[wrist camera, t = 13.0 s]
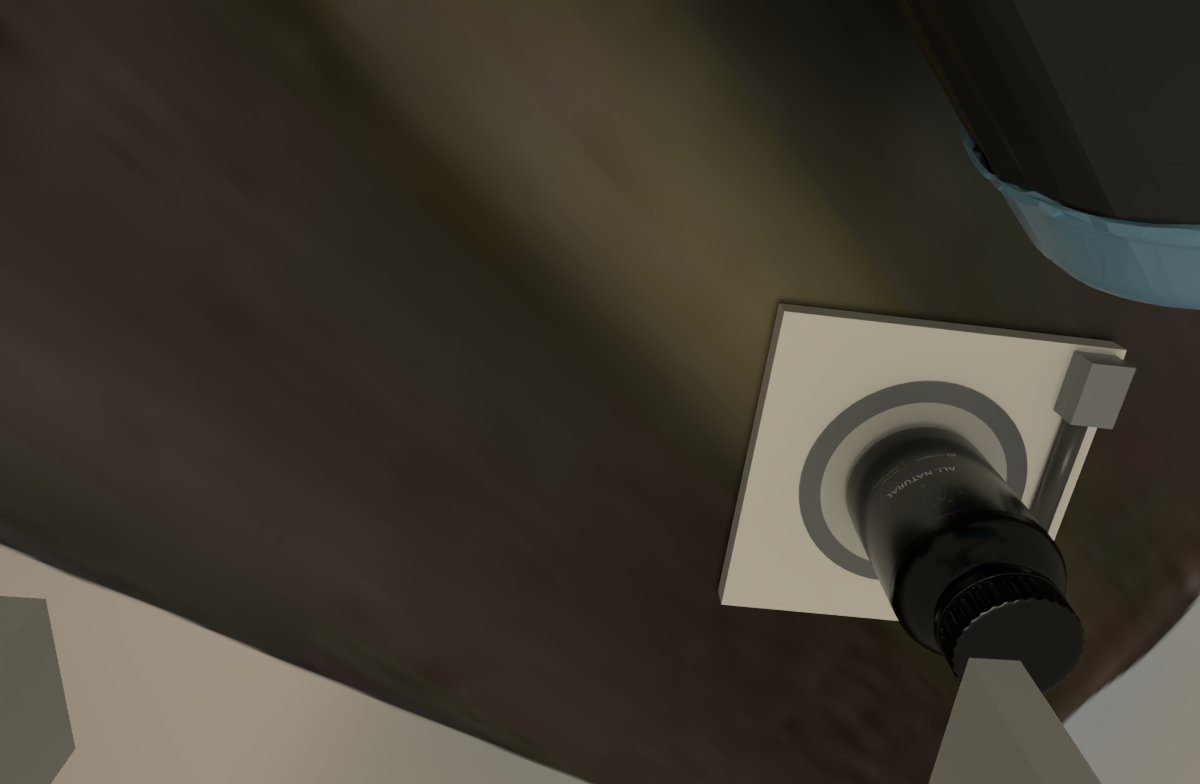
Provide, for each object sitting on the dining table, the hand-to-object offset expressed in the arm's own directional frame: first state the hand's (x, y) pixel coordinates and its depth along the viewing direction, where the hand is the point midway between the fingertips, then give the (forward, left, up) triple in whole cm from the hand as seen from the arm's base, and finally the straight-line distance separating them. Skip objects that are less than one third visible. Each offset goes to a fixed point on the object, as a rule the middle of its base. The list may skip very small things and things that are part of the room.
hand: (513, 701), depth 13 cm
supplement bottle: (+10, +18, -27) cm, 34 cm away
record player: (+10, +18, -29) cm, 35 cm away
